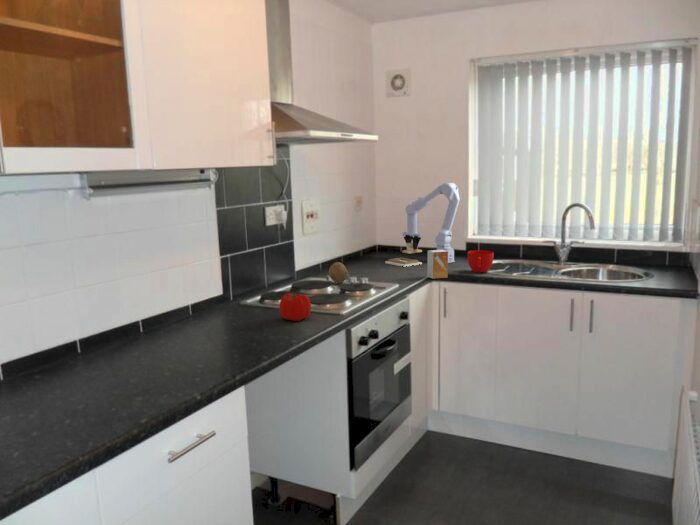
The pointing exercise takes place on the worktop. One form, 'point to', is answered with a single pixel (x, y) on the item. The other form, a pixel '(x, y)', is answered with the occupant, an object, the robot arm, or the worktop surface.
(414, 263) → the keyed base
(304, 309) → the tomato
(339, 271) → the coconut
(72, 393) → the worktop surface
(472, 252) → the ceramic cup
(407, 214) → the robot arm
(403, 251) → the flange block
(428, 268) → the small box
